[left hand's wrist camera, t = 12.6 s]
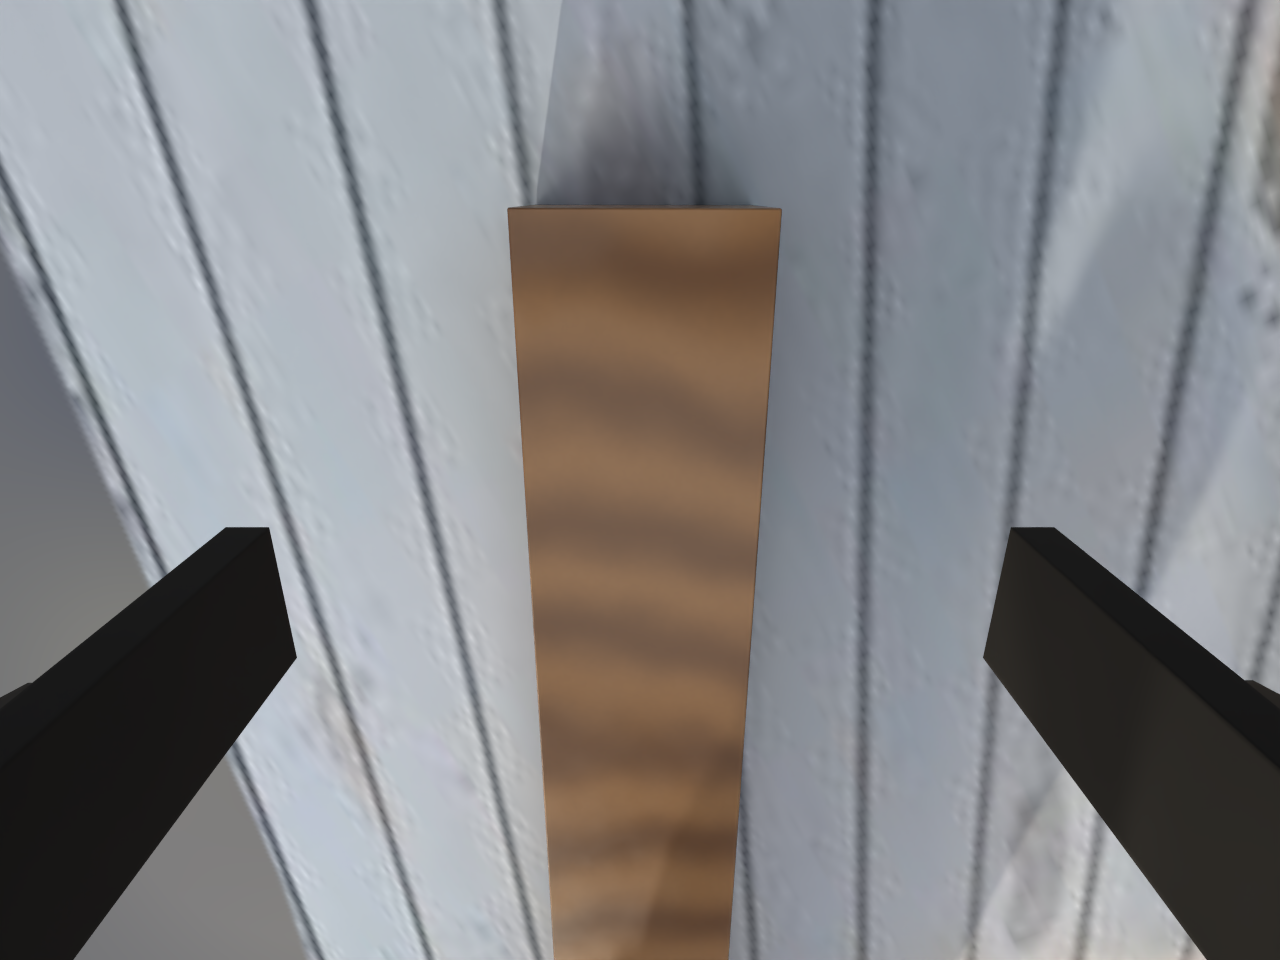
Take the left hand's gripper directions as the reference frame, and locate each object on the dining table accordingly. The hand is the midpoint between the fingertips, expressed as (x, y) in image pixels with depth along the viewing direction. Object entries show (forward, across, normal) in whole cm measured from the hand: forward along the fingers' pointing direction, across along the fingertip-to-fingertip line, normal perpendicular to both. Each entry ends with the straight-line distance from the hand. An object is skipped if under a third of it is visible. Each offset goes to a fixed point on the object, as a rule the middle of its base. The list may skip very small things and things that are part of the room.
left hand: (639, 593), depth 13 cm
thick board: (+24, 0, -31) cm, 40 cm away
